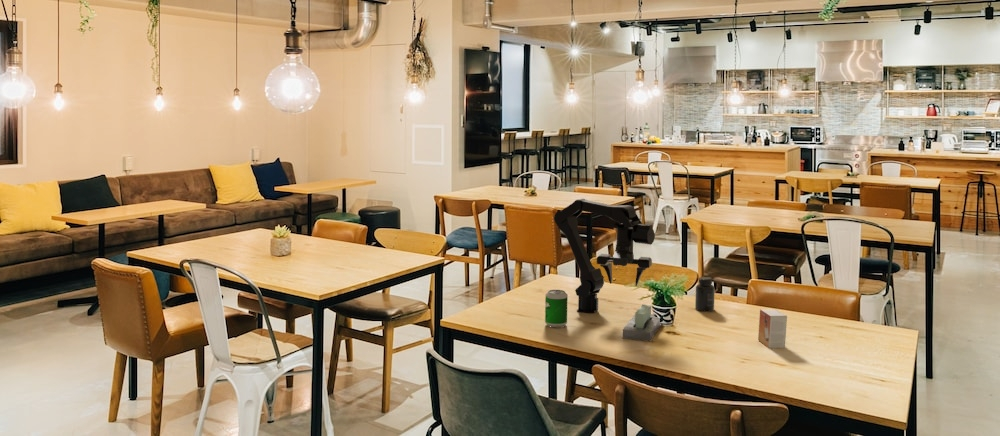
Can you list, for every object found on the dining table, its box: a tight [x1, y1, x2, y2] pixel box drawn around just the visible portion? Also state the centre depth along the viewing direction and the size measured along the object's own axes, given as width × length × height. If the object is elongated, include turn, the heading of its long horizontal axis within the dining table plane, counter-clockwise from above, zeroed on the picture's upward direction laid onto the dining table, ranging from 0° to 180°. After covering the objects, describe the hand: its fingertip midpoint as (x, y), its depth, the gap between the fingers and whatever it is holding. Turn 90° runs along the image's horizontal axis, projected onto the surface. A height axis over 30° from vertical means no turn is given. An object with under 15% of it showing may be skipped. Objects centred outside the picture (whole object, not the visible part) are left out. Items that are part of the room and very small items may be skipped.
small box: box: [757, 308, 788, 349], centre depth 247 cm, size 8×6×10 cm
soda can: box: [544, 289, 568, 328], centre depth 266 cm, size 8×8×12 cm
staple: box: [634, 303, 652, 328], centre depth 261 cm, size 3×12×8 cm, turn 159°
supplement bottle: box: [694, 276, 716, 312], centre depth 288 cm, size 7×7×12 cm
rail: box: [622, 313, 661, 342], centre depth 261 cm, size 9×22×3 cm, turn 159°
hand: (623, 284), depth 276 cm, fingers open, 9 cm apart
